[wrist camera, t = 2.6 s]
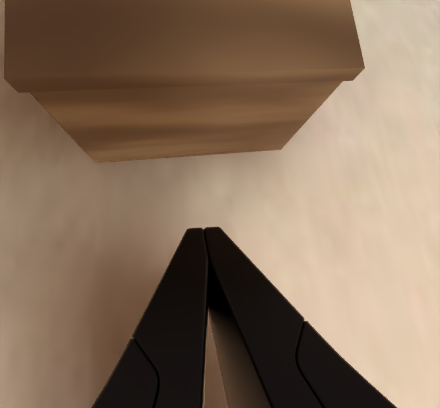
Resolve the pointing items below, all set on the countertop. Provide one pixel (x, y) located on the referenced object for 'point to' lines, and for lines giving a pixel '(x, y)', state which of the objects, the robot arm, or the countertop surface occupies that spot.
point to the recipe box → (180, 70)
